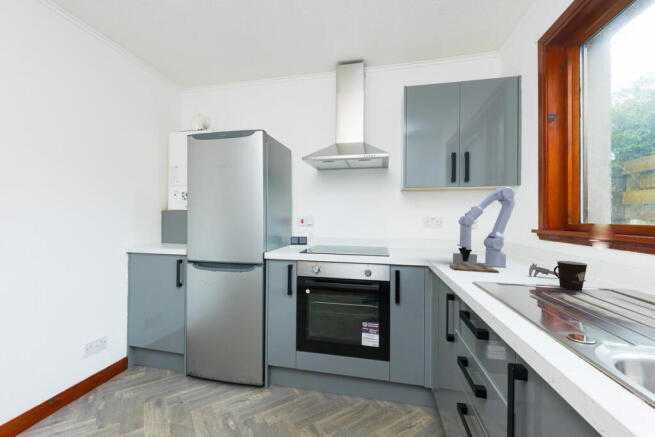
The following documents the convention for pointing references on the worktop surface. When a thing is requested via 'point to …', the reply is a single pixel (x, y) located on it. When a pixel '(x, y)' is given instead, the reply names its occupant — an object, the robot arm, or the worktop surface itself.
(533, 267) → the caliper
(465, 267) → the hinge board
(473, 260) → the door panel
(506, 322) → the worktop surface
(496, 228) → the robot arm
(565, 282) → the coffee mug
